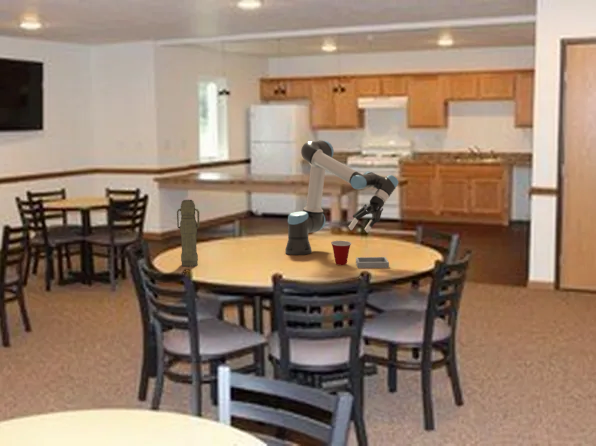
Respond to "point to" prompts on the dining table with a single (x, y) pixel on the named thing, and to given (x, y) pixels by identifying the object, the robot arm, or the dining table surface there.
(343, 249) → the plastic cup
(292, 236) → the robot arm
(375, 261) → the tray
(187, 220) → the thermos
